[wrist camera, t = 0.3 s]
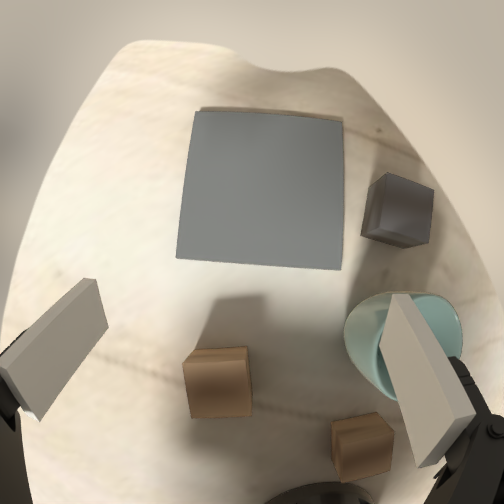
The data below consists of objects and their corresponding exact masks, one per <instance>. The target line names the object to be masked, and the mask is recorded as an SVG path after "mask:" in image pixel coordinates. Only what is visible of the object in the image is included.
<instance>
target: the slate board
mask: <svg viewBox="0 0 504 504" xmlns="http://www.w3.org/2000/svg"><path fill="white" fill-rule="evenodd" d="M343 200H344V175H343V134H342V122H339V121H333V120H325V119H317V118H309V117H300V116H290V115H279V114H265V113H248V112H216V111H195V116H194V122H193V128H192V134H191V140H190V146H189V152H188V159H187V165H186V172H185V180H184V187H183V195H182V203H181V211H180V220H179V229H178V239H177V249H176V258H178V259H188V260H200V261H213V262H226V263H239V264H253V265H266V266H280V267H294V268H309V269H323V270H341V263H342V242H343Z"/></svg>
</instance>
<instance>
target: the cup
mask: <svg viewBox="0 0 504 504" xmlns="http://www.w3.org/2000/svg"><path fill="white" fill-rule="evenodd" d="M392 294H409V296H410V297H411V299H412V300H413V302H414V303H415V305H416V306H417V308H418V309H419V311H420V313H421V314H422V316H423V317H424V319H425V321H426V322H427V324H428V326H429V327H430V329H431V330H432V332H433V334H434V335H435V337H436V339H437V341H438V342H439V344H440V346H441V347H442V349H443V351H444V353H445V354H446V356H447V357H451V356H456V357H457V358H458V359H460V356H461V352H462V344H463V339H462V329H461V324H460V321H459V318H458V315H457V313H456V311H455V309H454V308H453V306H452V305H451V304H450V303H449V302H448V301H447V300H446V299H444V298H443V297H441V296H439V295H435V294H432V293H427V292H414V291H389V292H384V293H379V294H376V295H373V296H371V297H368V298H367V299H365V300H363V301H362V302H360V303H359V304H358V305H357V306H356V307H354V309H353V310H352V311H351V312H350V314H349V316H348V318H347V319H346V322H345V326H344V334H343V336H344V344H345V347H346V351H347V353H348V355H349V357H350V359H351V361H352V363H353V364H354V365H355V367H356V368H357V369H358V371H359V372H360V373H361V374H362V375H363V376H364V377H365V378H366V379H367V380H368V381H369V382H370V383H371V384H372V385H373V386H375V387H376V388H377V389H378V390H379V391H380V392H382V393H383V394H384V395H385V396H387V397H388V398H390V399H393V400H395V401H398V400H397V397H396V394H395V391H394V388H393V384H392V381H391V378H390V375H389V373H388V370H387V367H386V364H385V361H384V358H383V355H382V353H381V350H380V347H379V344H380V340H381V337H382V333H383V330H384V326H385V322H386V318H387V315H388V311H389V307H390V303H391V298H392Z"/></svg>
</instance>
